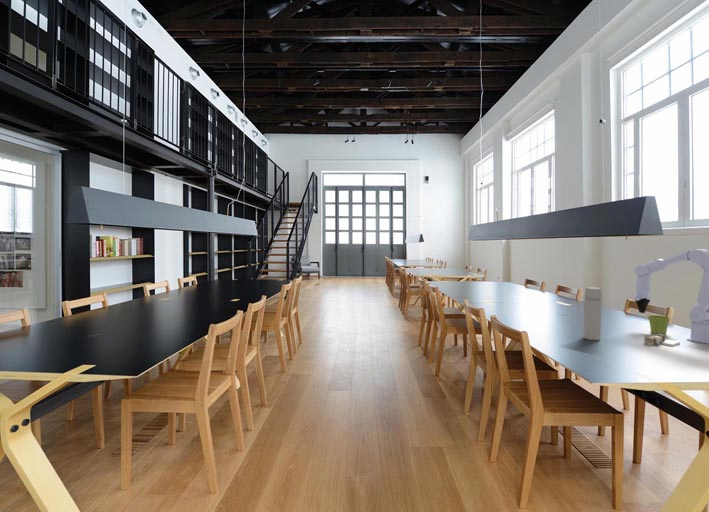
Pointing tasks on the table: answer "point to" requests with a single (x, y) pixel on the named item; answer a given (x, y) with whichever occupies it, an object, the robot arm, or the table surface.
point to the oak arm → (652, 339)
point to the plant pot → (658, 324)
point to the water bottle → (592, 313)
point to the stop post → (657, 341)
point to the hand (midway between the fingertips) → (642, 312)
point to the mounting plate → (670, 343)
